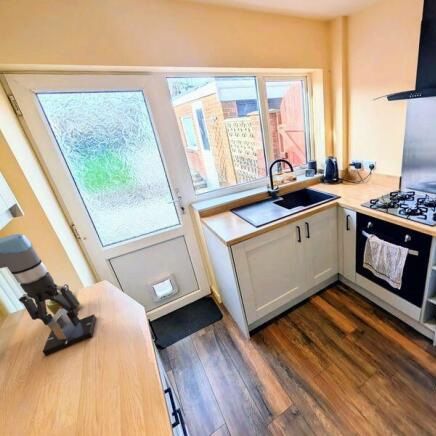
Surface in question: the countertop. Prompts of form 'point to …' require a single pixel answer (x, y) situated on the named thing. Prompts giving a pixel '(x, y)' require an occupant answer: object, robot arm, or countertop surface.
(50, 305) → the mug
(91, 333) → the base
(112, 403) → the countertop surface
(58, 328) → the tap handle
